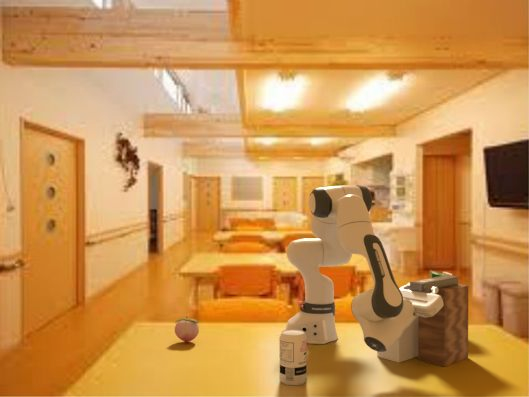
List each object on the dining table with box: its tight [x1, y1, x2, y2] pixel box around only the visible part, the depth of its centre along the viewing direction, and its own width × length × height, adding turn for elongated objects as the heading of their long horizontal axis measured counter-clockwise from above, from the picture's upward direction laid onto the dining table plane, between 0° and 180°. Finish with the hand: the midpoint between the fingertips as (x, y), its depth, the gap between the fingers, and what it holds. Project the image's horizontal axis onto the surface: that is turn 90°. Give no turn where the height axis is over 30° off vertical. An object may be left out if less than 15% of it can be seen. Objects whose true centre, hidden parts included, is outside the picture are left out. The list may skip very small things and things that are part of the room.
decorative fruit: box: [174, 316, 200, 343], centre depth 219 cm, size 9×8×10 cm
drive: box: [409, 275, 459, 293], centre depth 194 cm, size 22×4×3 cm, turn 131°
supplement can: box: [279, 329, 308, 386], centre depth 175 cm, size 8×8×15 cm
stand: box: [417, 283, 469, 368], centre depth 198 cm, size 15×10×25 cm, turn 131°
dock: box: [376, 316, 418, 363], centre depth 202 cm, size 14×9×18 cm, turn 131°
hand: (423, 286), depth 190 cm, fingers open, 8 cm apart
